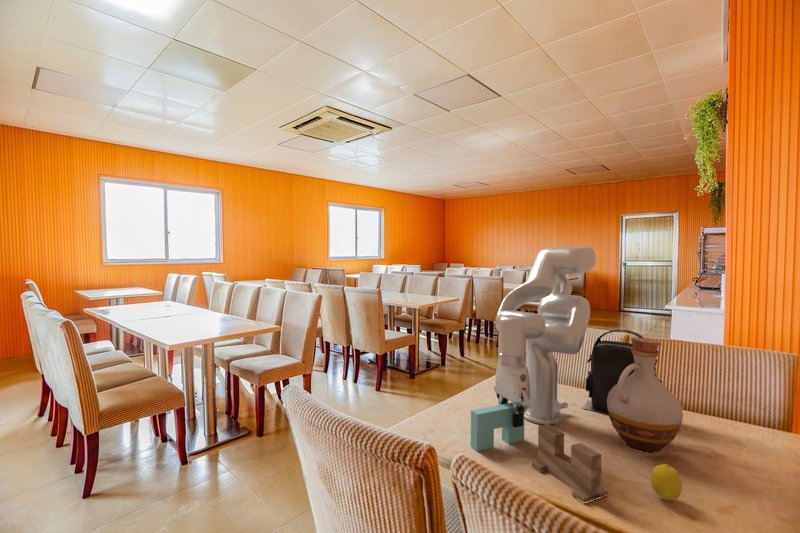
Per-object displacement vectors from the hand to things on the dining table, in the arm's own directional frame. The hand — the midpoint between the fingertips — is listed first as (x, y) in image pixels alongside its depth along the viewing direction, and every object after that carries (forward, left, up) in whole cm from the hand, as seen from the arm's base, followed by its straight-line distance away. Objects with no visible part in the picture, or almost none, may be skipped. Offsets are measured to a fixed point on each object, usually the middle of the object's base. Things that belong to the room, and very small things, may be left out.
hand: (511, 421), depth 112 cm
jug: (-31, +17, -6) cm, 35 cm away
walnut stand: (0, +21, -5) cm, 22 cm away
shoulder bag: (-47, -1, -6) cm, 47 cm away
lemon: (-14, +35, -6) cm, 38 cm away
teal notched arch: (+4, 0, -5) cm, 7 cm away
